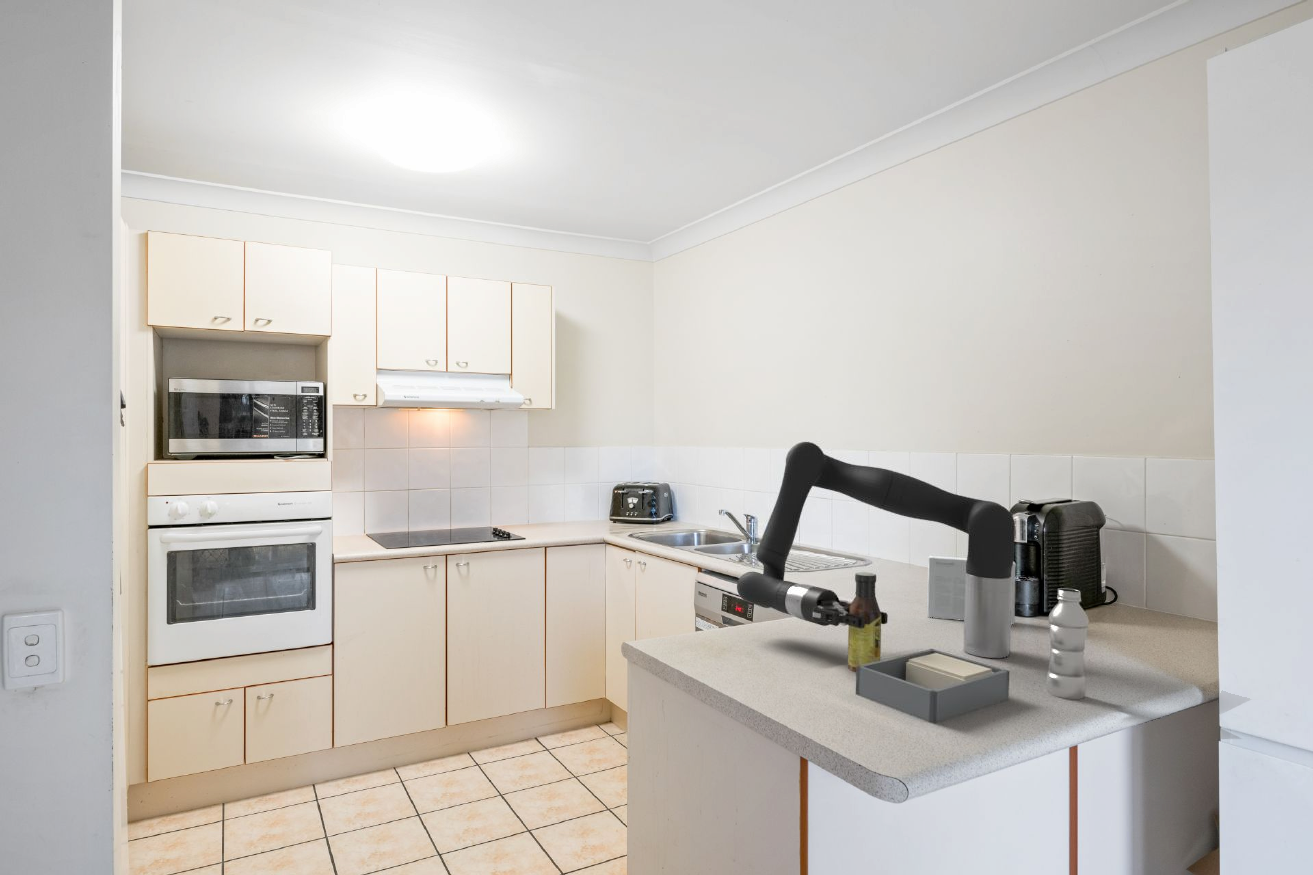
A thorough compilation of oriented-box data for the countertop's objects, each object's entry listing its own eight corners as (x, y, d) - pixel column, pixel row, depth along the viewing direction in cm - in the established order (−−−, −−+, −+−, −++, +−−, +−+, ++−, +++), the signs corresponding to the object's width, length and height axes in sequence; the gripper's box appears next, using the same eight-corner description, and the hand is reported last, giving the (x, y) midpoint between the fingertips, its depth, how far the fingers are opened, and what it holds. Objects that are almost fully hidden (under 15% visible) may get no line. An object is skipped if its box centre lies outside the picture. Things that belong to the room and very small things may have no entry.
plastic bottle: (1037, 693, 143) (1041, 586, 143) (1071, 693, 144) (1075, 586, 144) (1058, 705, 137) (1062, 593, 137) (1094, 705, 138) (1098, 594, 137)
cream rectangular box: (935, 678, 148) (935, 652, 147) (993, 696, 138) (994, 669, 138) (905, 686, 142) (906, 659, 142) (963, 706, 132) (964, 677, 132)
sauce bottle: (881, 680, 148) (884, 578, 148) (848, 677, 150) (850, 576, 149) (878, 669, 155) (881, 571, 154) (846, 667, 156) (849, 569, 156)
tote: (930, 679, 150) (931, 648, 150) (1008, 704, 137) (1009, 670, 137) (855, 699, 137) (856, 665, 137) (933, 729, 124) (934, 692, 124)
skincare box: (1012, 621, 199) (1014, 560, 199) (1015, 626, 194) (1017, 563, 194) (926, 613, 206) (928, 554, 206) (926, 617, 201) (928, 557, 201)
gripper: (788, 589, 160) (851, 605, 146) (835, 583, 168) (899, 597, 154) (787, 625, 160) (850, 645, 146) (834, 617, 168) (898, 635, 154)
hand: (875, 620), depth 150 cm, fingers closed on sauce bottle, 6 cm apart
